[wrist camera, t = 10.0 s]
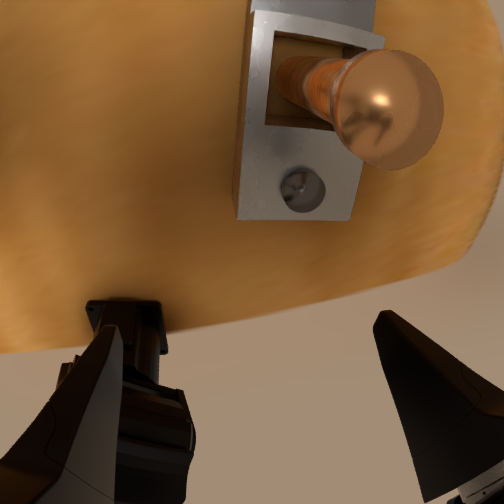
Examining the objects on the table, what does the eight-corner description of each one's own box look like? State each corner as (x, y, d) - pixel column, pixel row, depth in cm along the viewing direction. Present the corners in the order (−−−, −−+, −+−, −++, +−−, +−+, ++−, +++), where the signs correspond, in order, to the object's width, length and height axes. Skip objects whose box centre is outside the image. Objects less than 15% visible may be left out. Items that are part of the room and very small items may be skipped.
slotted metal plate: (332, 199, 22) (353, 225, 19) (231, 197, 20) (238, 225, 17) (366, -35, 12) (397, -46, 9) (254, -61, 11) (267, -83, 8)
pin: (327, 114, 18) (428, 175, 10) (264, 108, 17) (330, 164, 9) (335, 54, 16) (451, 70, 8) (270, 44, 15) (349, 35, 7)
